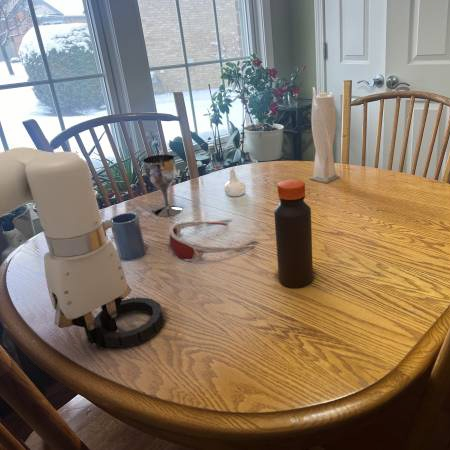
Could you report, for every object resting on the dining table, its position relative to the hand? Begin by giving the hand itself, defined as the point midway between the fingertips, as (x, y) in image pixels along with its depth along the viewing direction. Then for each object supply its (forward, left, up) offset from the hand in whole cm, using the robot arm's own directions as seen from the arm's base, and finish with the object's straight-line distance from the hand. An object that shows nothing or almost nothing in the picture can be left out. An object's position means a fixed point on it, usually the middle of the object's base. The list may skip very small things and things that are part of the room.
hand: (104, 339), depth 71 cm
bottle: (+33, -13, -1) cm, 35 cm away
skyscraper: (+86, +18, -1) cm, 88 cm away
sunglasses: (+33, +13, -1) cm, 35 cm away
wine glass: (+40, +38, -1) cm, 55 cm away
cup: (+20, +24, -1) cm, 31 cm away
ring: (+5, 0, 0) cm, 5 cm away
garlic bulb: (+60, +32, -1) cm, 68 cm away
